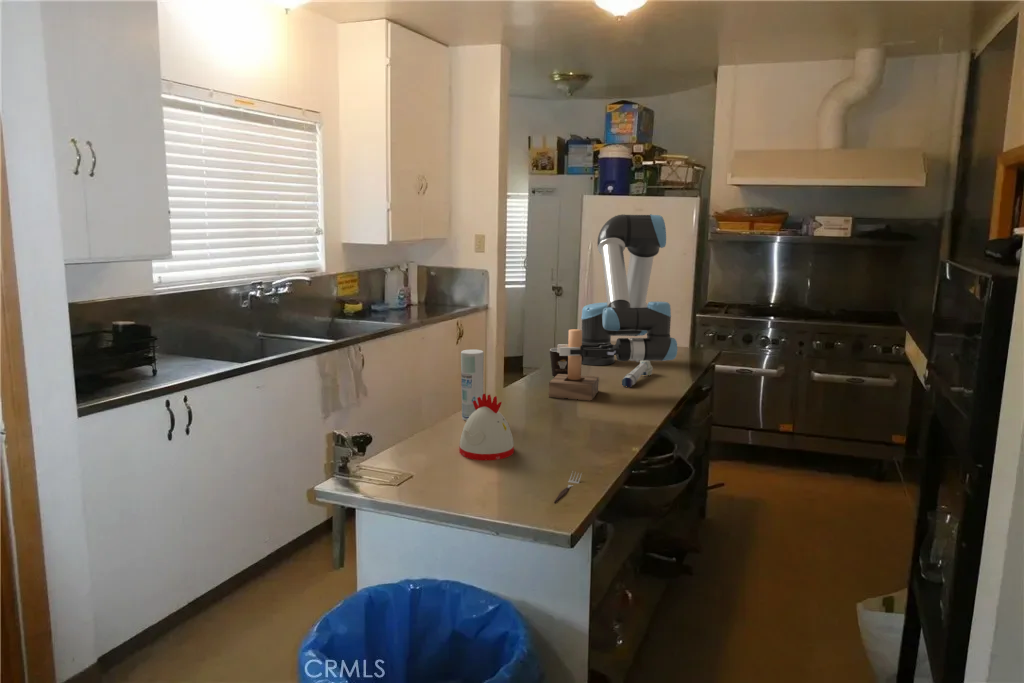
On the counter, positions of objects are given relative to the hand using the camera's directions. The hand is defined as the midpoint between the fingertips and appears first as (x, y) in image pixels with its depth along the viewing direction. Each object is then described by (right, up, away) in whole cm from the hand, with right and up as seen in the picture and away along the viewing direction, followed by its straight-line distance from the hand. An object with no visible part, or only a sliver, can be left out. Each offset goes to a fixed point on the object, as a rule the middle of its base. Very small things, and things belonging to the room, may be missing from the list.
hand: (558, 350), depth 245 cm
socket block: (+5, -15, +3) cm, 16 cm away
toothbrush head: (+30, -11, +24) cm, 40 cm away
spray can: (-27, -20, -25) cm, 42 cm away
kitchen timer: (-22, -25, -54) cm, 64 cm away
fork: (-3, -31, -80) cm, 85 cm away
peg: (+5, -9, +2) cm, 11 cm away
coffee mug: (+4, -10, +28) cm, 30 cm away
